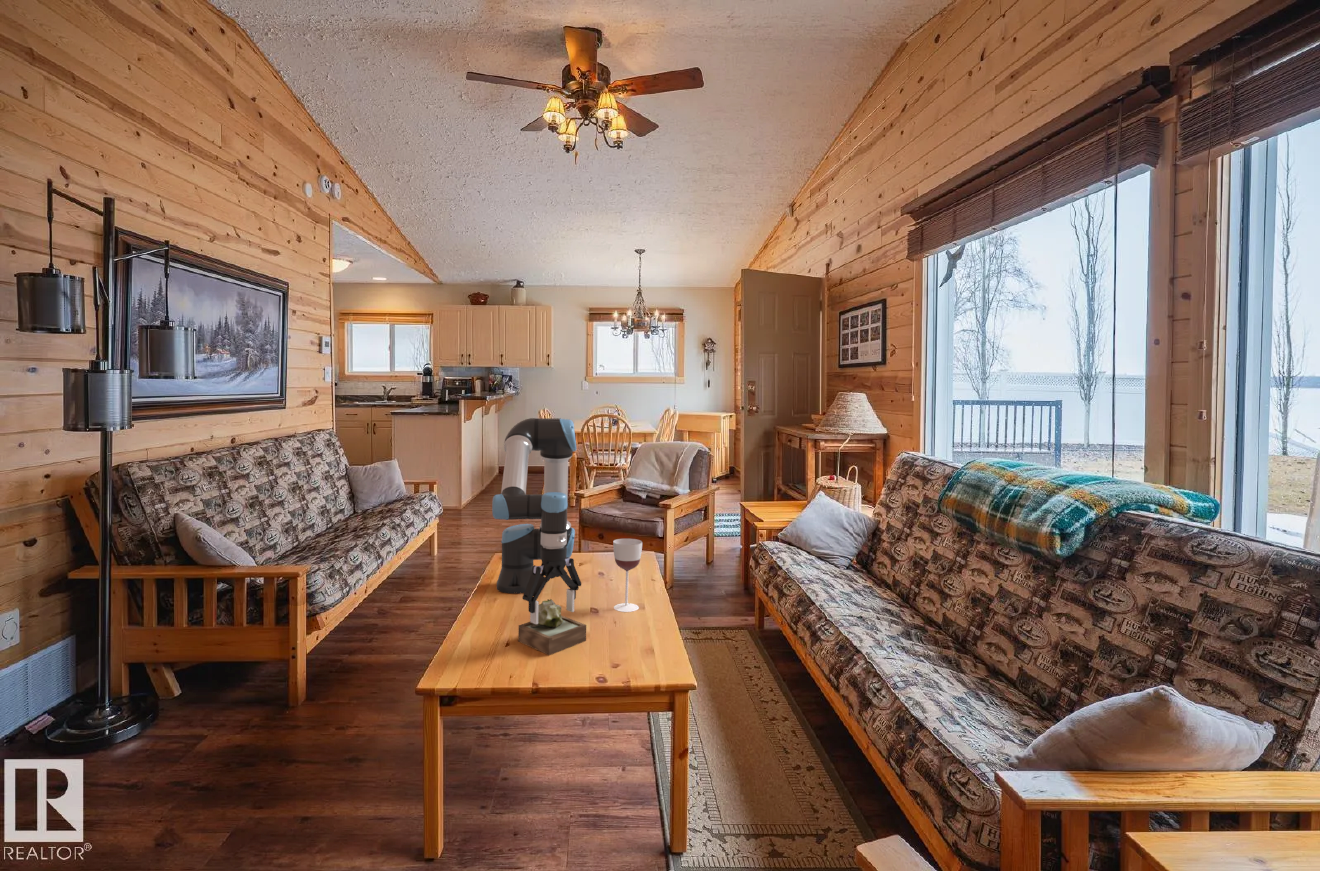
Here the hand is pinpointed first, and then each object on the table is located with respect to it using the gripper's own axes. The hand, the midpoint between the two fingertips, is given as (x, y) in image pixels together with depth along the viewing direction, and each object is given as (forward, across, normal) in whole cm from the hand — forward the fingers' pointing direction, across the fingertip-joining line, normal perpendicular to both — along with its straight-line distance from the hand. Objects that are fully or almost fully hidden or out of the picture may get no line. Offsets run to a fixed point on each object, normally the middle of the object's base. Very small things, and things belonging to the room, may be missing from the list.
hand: (552, 616), depth 179 cm
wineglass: (+8, +36, +4) cm, 37 cm away
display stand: (+7, 0, 0) cm, 7 cm away
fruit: (+3, 0, +2) cm, 4 cm away
